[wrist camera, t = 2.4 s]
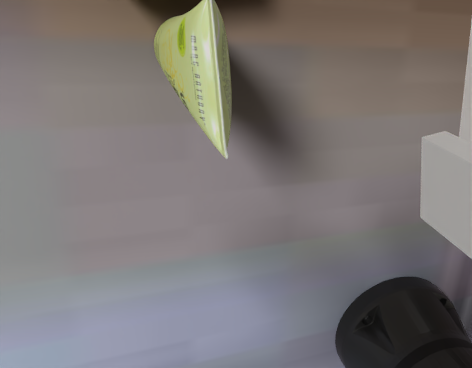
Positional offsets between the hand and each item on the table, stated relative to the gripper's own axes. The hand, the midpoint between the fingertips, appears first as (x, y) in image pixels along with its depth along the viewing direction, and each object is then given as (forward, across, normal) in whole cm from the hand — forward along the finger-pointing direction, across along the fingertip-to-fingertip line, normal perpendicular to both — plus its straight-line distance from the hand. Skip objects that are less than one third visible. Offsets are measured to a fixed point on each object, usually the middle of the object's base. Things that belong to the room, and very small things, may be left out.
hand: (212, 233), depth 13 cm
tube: (+29, -3, -1) cm, 29 cm away
